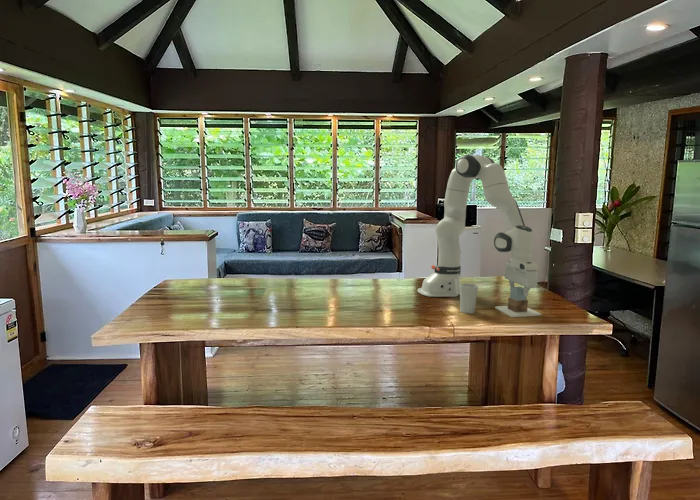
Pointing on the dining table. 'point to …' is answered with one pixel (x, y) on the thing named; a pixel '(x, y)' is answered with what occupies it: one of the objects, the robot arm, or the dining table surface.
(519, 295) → the grey cube
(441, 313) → the dining table surface
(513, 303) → the walnut block
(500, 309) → the plate
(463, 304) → the cup
